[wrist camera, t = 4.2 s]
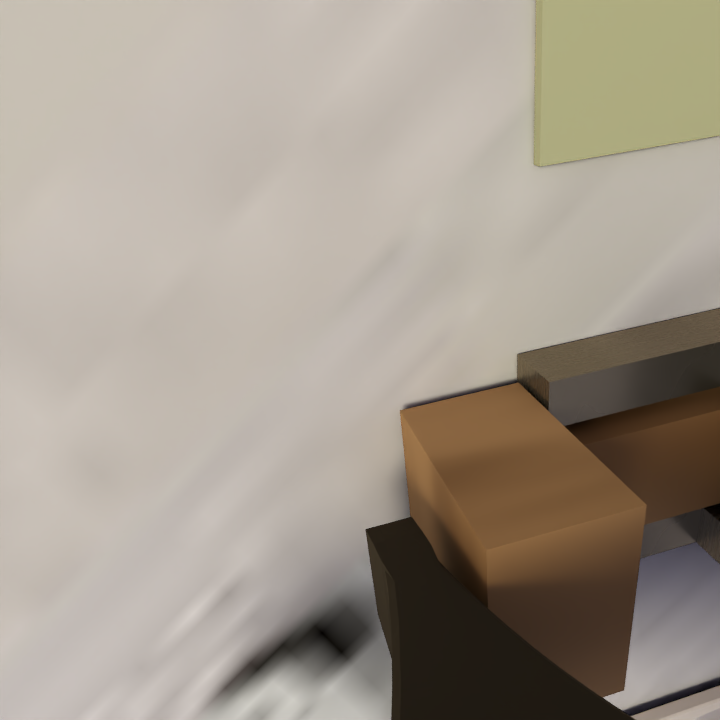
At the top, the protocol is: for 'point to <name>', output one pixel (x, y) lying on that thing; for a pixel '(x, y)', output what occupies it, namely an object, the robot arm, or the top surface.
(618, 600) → the key
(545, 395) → the socket
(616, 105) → the mat
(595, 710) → the robot arm
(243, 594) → the top surface
